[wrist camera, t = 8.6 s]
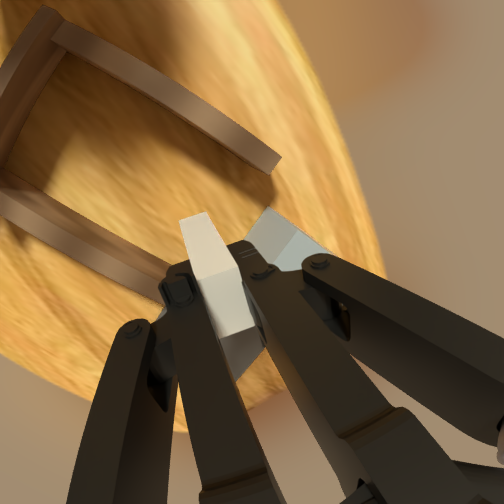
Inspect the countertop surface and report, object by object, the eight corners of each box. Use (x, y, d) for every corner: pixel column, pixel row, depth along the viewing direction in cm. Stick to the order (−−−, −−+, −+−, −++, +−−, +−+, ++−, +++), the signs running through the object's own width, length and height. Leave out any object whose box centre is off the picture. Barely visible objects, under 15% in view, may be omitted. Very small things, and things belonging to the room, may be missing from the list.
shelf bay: (-13, 178, 18) (-52, 196, 12) (67, 29, 15) (42, 4, 10) (172, 284, 26) (177, 326, 21) (263, 151, 24) (294, 160, 18)
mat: (134, 354, 27) (134, 356, 27) (193, 263, 26) (193, 264, 25) (228, 387, 32) (228, 389, 32) (290, 313, 30) (291, 315, 30)
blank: (224, 264, 27) (243, 303, 21) (268, 205, 26) (298, 229, 20) (292, 302, 30) (320, 340, 25) (331, 251, 29) (368, 281, 24)
